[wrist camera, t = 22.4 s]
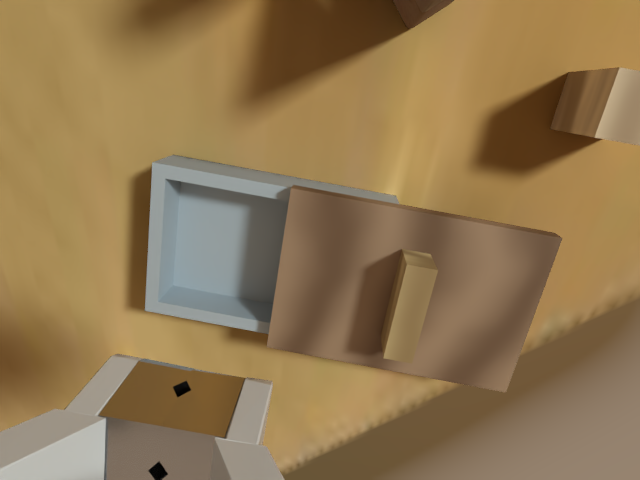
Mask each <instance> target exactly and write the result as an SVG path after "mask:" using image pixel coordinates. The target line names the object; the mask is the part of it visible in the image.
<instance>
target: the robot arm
mask: <svg viewBox="0 0 640 480" xmlns="http://www.w3.org/2000/svg"><path fill="white" fill-rule="evenodd" d="M272 386H273V383H272V381H268V380H261V379H255V378H248V377H247V378H242V377H236V376H230V375H225V374H219V373H213V372H208V371H202V370H196V369H193V368H188V367H183V366H178V365H173V364H169V363H164V362H159V361H154V360H149V359H141V358H138V357H132V356H127V355H122V354H115V355H113V356H111V357H110V358H109V359H108V360H107V361H106V362H105V363H104V365H103V366H102V367H101V368H100V369H99V370H98V371H97V373H96V374H95V375H94V376H93V377H92V378H91V379H90V381H89V382H88V383H87V384H86V385H85V386H84V388H83V389H82V390H81V391H80V392H79V393H78V394H77V396H76V397H75V398H74V399H73V400H72V401H71V402H70V404H69V405H68V406H67V407H66V408H65V409H64V410H59V409H53V410H51V411H49V412H46V413H44V414H42V415H39V416H37V417H35V418H32V419H30V420H28V421H25V422H23V423H20V424H18V425H16V426H13V427H11V428H9V429H6V430H4V431H2V432H0V480H284V478H283V476H282V474H281V473H280V471H279V469H278V467H277V465H276V463H275V461H274V459H273V457H272V456H271V454H270V452H269V450H268V448H267V447H266V446H262V445H263V439H264V434H265V428H266V422H267V416H268V410H269V405H270V399H271V393H272Z"/></svg>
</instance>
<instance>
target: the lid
mask: <svg viewBox="0 0 640 480" xmlns="http://www.w3.org/2000/svg"><path fill="white" fill-rule="evenodd" d="M561 241H562V238H561V237H560V236H558V235H557V234H556V233H552V232H547V231H541V230H536V229H531V228H525V227H520V226H514V225H509V224H503V223H498V222H493V221H487V220H482V219H476V218H471V217H465V216H460V215H455V214H449V213H444V212H438V211H433V210H428V209H422V208H417V207H411V206H406V205H400V204H395V203H390V202H384V201H379V200H373V199H368V198H362V197H357V196H352V195H346V194H341V193H335V192H330V191H325V190H319V189H314V188H308V187H303V186H297V185H293V186H292V187H291V191H290V198H289V204H288V211H287V217H286V224H285V230H284V237H283V243H282V250H281V256H280V263H279V270H278V276H277V283H276V289H275V296H274V302H273V309H272V315H271V322H270V328H269V335H268V341H267V347H269V348H274V349H279V350H285V351H290V352H295V353H300V354H306V355H311V356H316V357H322V358H327V359H332V360H337V361H343V362H348V363H353V364H359V365H364V366H369V367H374V368H380V369H385V370H390V371H396V372H401V373H406V374H411V375H417V376H422V377H427V378H432V379H438V380H443V381H448V382H454V383H459V384H464V385H470V386H475V387H480V388H485V389H491V390H496V391H501V392H506V391H507V388H508V385H509V382H510V380H511V377H512V374H513V372H514V369H515V366H516V363H517V361H518V358H519V355H520V352H521V350H522V347H523V344H524V342H525V339H526V336H527V333H528V331H529V328H530V325H531V322H532V320H533V317H534V314H535V311H536V309H537V306H538V303H539V301H540V298H541V295H542V292H543V290H544V287H545V284H546V281H547V279H548V276H549V273H550V271H551V268H552V265H553V262H554V260H555V257H556V254H557V251H558V249H559V246H560V243H561Z"/></svg>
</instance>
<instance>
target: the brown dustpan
mask: <svg viewBox="0 0 640 480" xmlns="http://www.w3.org/2000/svg"><path fill="white" fill-rule="evenodd" d="M452 1H454V0H393V2H394V4H395V6H396V8H397V10H398V12H399V14H400V16H401V18H402V19H403V21H404V23H405V25H406V27H408V28H413V27H415V26H416V25H418V24H420V23H421V22H423V21H424V20H426V19H427V18H429V17H430V16H432V15H433V14H435V13H436V12H438V11H440V10H441V9H443V8H444V7H446V6H447V5H449V4H450V3H451V2H452Z"/></svg>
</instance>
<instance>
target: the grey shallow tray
mask: <svg viewBox="0 0 640 480" xmlns="http://www.w3.org/2000/svg"><path fill="white" fill-rule="evenodd" d="M293 185H297V186H303V187H308V188H314V189H319V190H325V191H330V192H335V193H341V194H346V195H352V196H357V197H362V198H368V199H373V200H379V201H384V202H390V203H395V204H399V202H398V200H397V197H396V196H394V195H389V194H383V193H378V192H372V191H367V190H361V189H356V188H351V187H345V186H340V185H334V184H329V183H323V182H318V181H313V180H307V179H302V178H296V177H291V176H285V175H280V174H275V173H269V172H264V171H258V170H253V169H248V168H242V167H237V166H231V165H226V164H220V163H215V162H210V161H204V160H199V159H193V158H188V157H182V156H177V155H172V156H169V157H166V158H163V159H160V160H158V161H155V162H152V180H151V200H150V220H149V240H148V259H147V279H146V299H145V311H149V312H155V313H160V314H165V315H170V316H176V317H181V318H186V319H192V320H197V321H202V322H207V323H213V324H218V325H223V326H229V327H234V328H239V329H244V330H250V331H255V332H260V333H266V334H269V328H270V322H271V315H272V309H273V302H274V296H275V289H276V283H277V276H278V270H279V263H280V256H281V250H282V243H283V237H284V230H285V224H286V217H287V211H288V204H289V198H290V191H291V187H292V186H293Z"/></svg>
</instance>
